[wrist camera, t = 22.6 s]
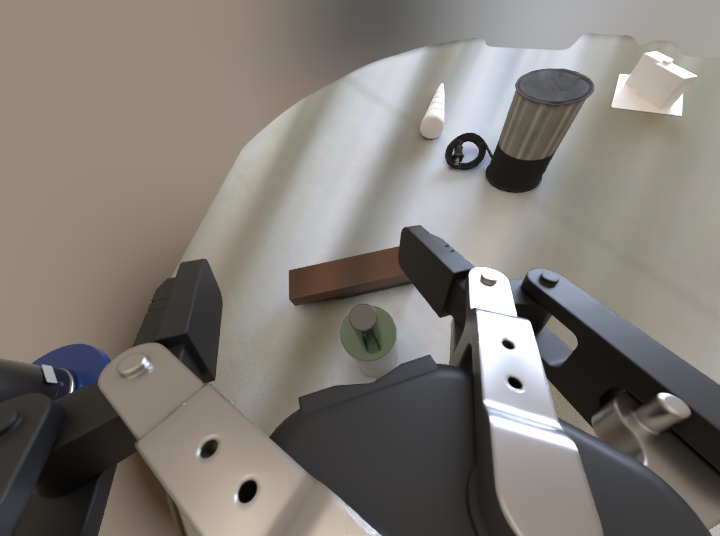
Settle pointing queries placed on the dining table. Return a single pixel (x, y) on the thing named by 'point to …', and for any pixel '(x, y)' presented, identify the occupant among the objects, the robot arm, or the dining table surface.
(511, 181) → the milk frother
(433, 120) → the unicorn horn
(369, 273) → the brush
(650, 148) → the dining table surface
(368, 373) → the green bottle
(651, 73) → the napkin holder
